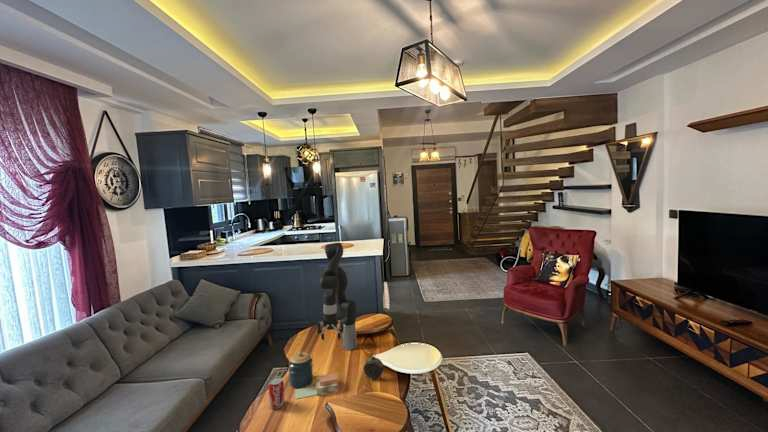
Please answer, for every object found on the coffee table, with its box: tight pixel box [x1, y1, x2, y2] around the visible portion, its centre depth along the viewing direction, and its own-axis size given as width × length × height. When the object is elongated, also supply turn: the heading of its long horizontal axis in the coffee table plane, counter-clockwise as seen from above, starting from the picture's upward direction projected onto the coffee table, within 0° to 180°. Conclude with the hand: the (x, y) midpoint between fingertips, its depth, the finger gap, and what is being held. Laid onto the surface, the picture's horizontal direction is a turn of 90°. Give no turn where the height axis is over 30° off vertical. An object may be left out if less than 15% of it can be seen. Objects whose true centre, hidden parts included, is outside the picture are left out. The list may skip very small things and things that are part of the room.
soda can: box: [268, 376, 285, 410], centre depth 161 cm, size 7×7×13 cm
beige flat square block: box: [314, 377, 339, 397], centre depth 174 cm, size 11×10×4 cm
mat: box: [294, 385, 317, 400], centre depth 171 cm, size 11×8×1 cm
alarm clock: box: [363, 351, 384, 382], centre depth 180 cm, size 11×5×16 cm, turn 77°
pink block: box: [318, 372, 338, 386], centre depth 174 cm, size 9×6×2 cm, turn 107°
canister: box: [288, 350, 314, 389], centre depth 180 cm, size 13×13×18 cm
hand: (331, 339), depth 180 cm, fingers open, 8 cm apart
